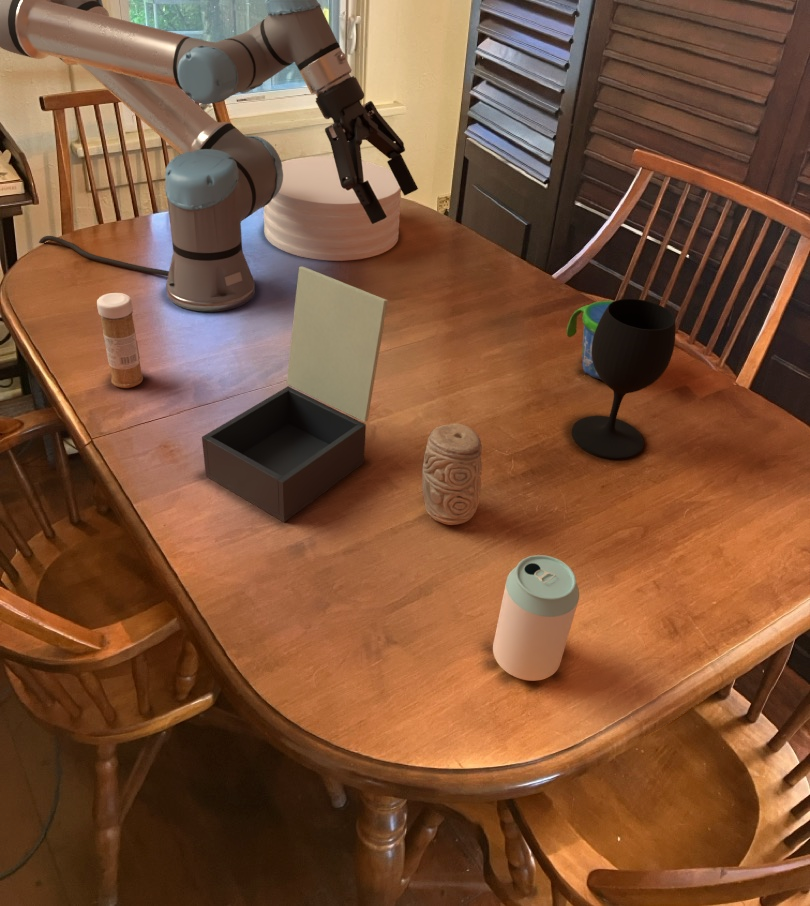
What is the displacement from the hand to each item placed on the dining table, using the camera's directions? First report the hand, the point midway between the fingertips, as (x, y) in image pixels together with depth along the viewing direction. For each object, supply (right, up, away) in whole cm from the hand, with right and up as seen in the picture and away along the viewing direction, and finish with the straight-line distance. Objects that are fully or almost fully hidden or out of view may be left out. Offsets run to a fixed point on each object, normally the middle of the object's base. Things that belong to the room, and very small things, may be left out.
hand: (396, 206), depth 137 cm
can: (+14, -64, -54) cm, 85 cm away
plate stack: (-14, +4, +32) cm, 35 cm away
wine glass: (+31, -40, -21) cm, 55 cm away
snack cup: (+34, -29, -6) cm, 45 cm away
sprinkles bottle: (-40, -32, -18) cm, 54 cm away
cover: (-8, -29, -35) cm, 46 cm away
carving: (+7, -50, -37) cm, 62 cm away
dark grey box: (-14, -44, -32) cm, 57 cm away
